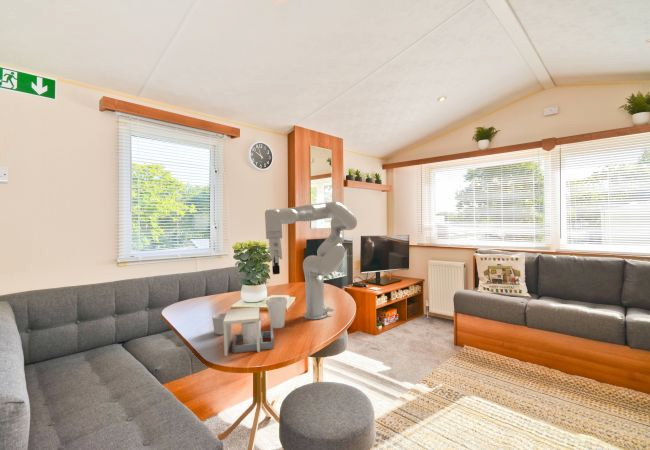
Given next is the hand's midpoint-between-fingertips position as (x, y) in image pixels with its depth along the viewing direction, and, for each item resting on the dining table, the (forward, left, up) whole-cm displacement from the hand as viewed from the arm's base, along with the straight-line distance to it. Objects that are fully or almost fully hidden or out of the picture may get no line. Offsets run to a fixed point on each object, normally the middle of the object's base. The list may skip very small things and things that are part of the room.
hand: (276, 273), depth 144 cm
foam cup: (0, 0, -26) cm, 26 cm away
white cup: (+11, +18, -26) cm, 33 cm away
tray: (+11, +19, -25) cm, 33 cm away
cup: (+25, 0, -26) cm, 36 cm away
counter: (+14, +19, -25) cm, 34 cm away
